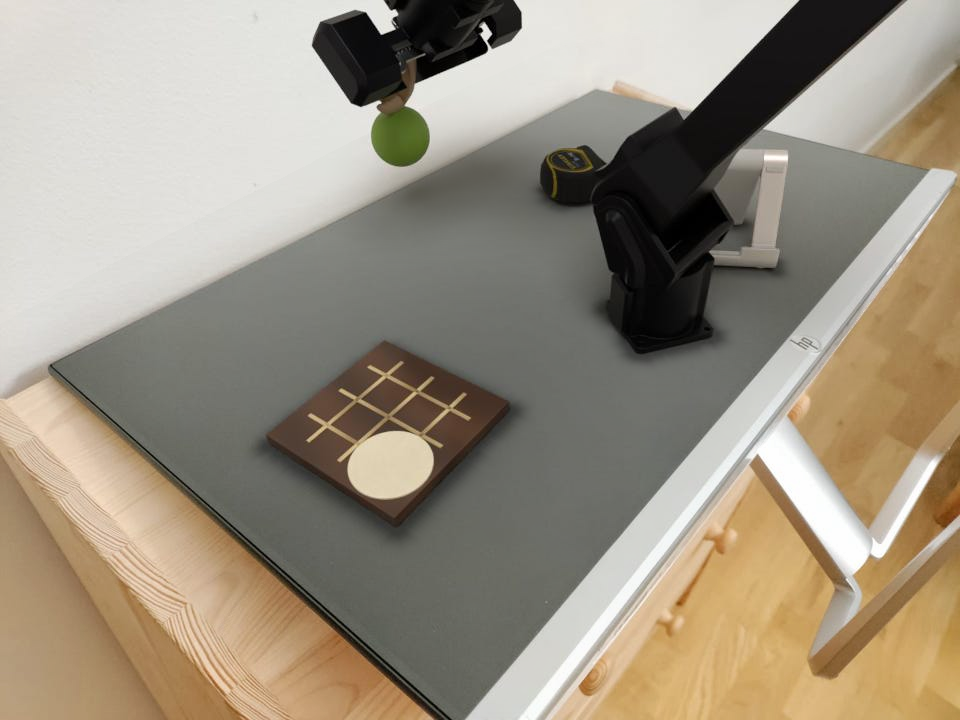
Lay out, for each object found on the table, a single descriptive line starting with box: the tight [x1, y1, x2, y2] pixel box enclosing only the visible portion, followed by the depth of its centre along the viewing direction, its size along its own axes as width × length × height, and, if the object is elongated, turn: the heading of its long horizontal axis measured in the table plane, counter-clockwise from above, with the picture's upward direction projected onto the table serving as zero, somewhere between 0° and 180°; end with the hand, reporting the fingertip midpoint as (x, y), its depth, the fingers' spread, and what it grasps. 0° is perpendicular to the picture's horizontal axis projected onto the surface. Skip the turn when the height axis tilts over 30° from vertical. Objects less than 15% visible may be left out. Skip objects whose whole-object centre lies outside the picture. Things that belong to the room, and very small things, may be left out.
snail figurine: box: [370, 59, 431, 168], centre depth 64 cm, size 5×6×12 cm
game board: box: [265, 339, 510, 527], centre depth 49 cm, size 12×12×1 cm
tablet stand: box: [709, 148, 789, 269], centre depth 61 cm, size 9×8×8 cm
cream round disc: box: [348, 431, 434, 500], centre depth 46 cm, size 6×6×1 cm
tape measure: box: [539, 144, 608, 204], centre depth 71 cm, size 7×7×4 cm
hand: (387, 89), depth 64 cm, fingers closed on snail figurine, 6 cm apart
